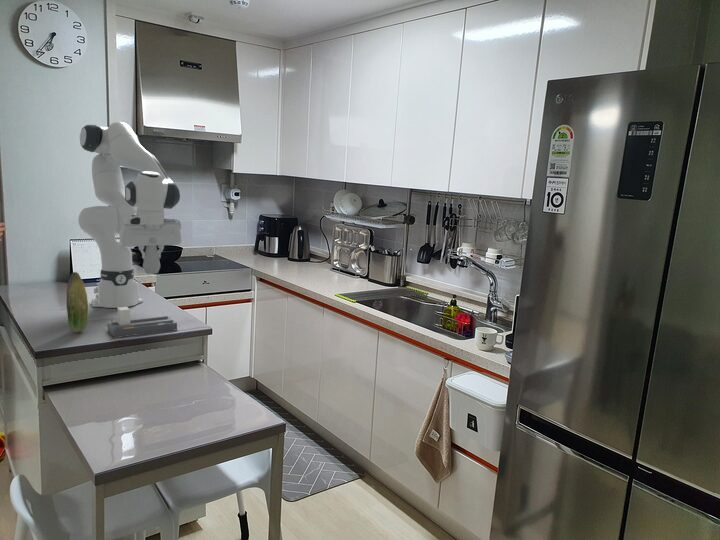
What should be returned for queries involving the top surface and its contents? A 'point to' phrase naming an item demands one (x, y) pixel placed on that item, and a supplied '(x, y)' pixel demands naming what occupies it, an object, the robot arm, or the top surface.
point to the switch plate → (142, 326)
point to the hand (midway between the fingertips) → (151, 258)
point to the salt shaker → (151, 258)
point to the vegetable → (76, 303)
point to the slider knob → (123, 316)
